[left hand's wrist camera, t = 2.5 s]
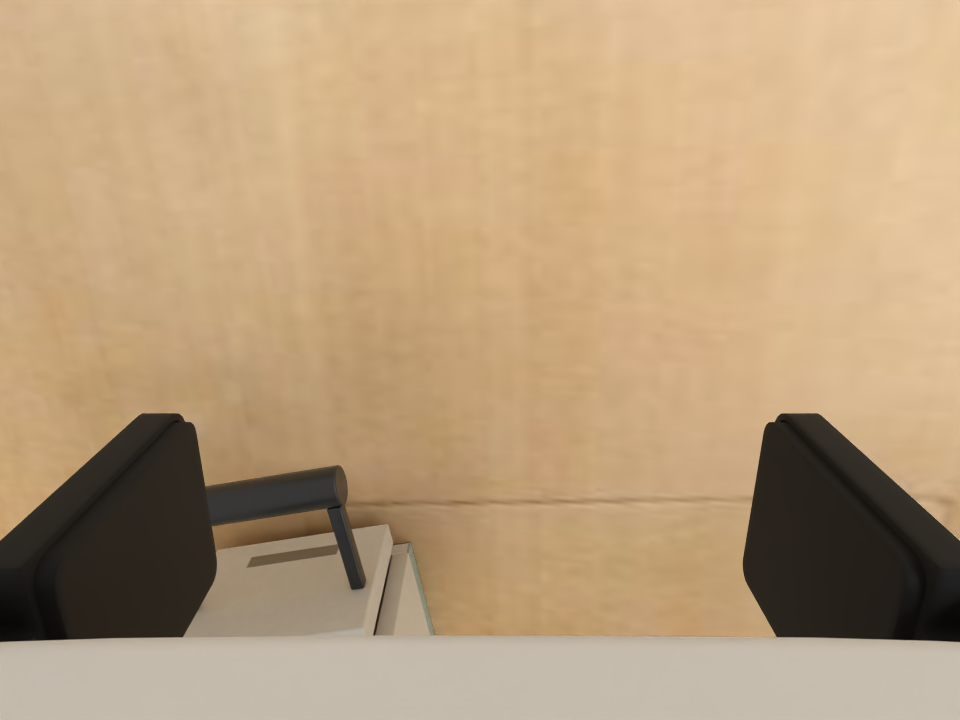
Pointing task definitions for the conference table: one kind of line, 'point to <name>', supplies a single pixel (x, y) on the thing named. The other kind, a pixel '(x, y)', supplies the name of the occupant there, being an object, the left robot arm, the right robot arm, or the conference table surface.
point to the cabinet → (403, 597)
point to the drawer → (294, 564)
